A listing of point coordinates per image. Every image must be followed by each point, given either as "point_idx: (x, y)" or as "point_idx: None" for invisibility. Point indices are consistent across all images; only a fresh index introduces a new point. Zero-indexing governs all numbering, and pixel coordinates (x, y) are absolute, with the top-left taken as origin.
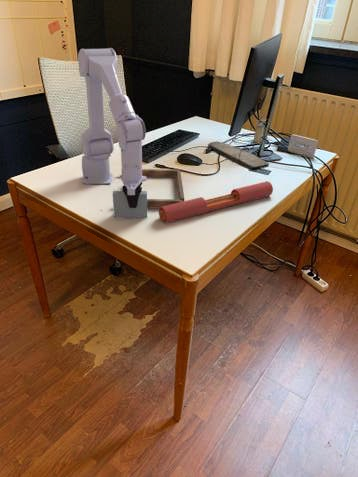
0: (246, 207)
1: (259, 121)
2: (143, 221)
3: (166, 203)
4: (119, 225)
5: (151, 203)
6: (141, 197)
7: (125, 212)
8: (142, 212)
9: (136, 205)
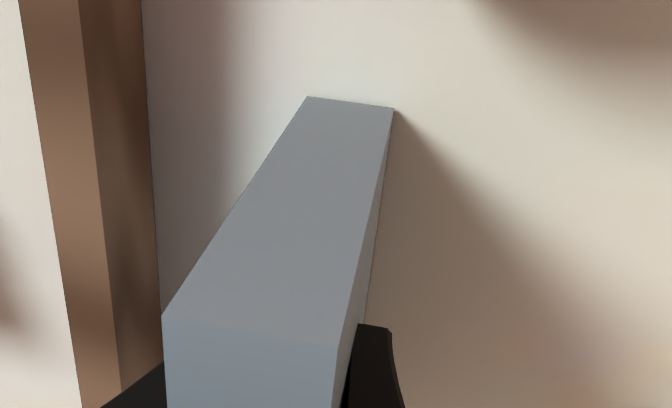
0: None
1: None
2: (482, 164)
3: None
4: (512, 400)
5: (107, 31)
6: (341, 382)
7: None
8: (378, 198)
9: (393, 358)
